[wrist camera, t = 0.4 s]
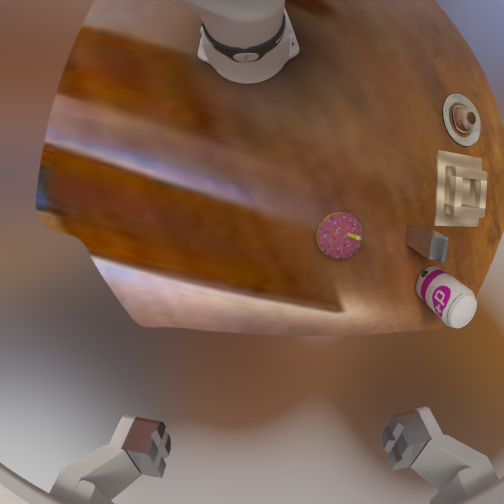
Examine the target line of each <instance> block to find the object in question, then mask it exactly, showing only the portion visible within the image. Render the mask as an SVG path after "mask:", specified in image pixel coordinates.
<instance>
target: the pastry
mask: <svg viewBox="0 0 504 504" xmlns="http://www.w3.org/2000/svg"><path fill="white" fill-rule="evenodd" d="M455 103H460V104H462V105H464V106H465V107H463V106H460V105H458V106H455V107H454V109H453V119H454V122H455V126H456V128H457V130H458V131H460V132H462V133H469V132H470V131H471V130H472V132H471V134H470V135H469V136H467V137H461V136H459V135H458V134H457V133H456V132H455V131H454V130H453V128H452V126H451V124H450V121H449V110H450V107H451V106H452V105H453V104H455ZM443 118H444V122H445V126H446V128H447V130H448V132H449V134H450V136H451V137H452V138H453V139H454V140H455V141H456V142H457V143H458V144H460V145H462V146H471V145H473V144H475V143H476V142H477V140H478V138H479V135H480V131H481V124H480V118H479V115H478V112H477V110H476V109H475V107H474V105H473V104H472V103H471V102H470V100H469V99H468V98H466V97H465V96H463V95H460V94H453V95H450V96H449V97H448V98H447V99H446V101H445V103H444V107H443Z"/></svg>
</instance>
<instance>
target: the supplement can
mask: <svg viewBox="0 0 504 504" xmlns="http://www.w3.org/2000/svg"><path fill="white" fill-rule="evenodd" d="M416 292H417V294H418V296H419V297H420V298H421V299H422V300H423V301H424V302H425V303H426V304H427V305H428V306H429V307H430V308H431V309H432V310H433V311H434V312H435V313H436V314H437V315H438V316H439V317H440V318H441V319H442V321H443V322H444V323H445V324H446V325H448V326H450V327H455V328H461V327H463V326H465V325H466V324H467V323H468V322H469V321H470V320H471V319H472V317H473V316H474V314H475V311H476V307H477V301H476V299H475V296H474V294H473V292H472V291H471V290H470V289H468V288H467V287H466V286H465V285H463V284H462V283H461V282H459V281H458V280H457V279H455V278H454V277H452V276H451V275H450V274H448V273H447V272H446V271H444V270H443V269H441V268H440V267H438V266H430V267H427V268H426V269H425V270H423V271H422V273H421V274H420V275H419V277H418V280H417V282H416Z"/></svg>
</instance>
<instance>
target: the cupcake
mask: <svg viewBox="0 0 504 504" xmlns="http://www.w3.org/2000/svg"><path fill="white" fill-rule="evenodd" d="M362 239H363V230H362V227H361V224H360V223H359V221H358V220H357V218H356V217H355V216H354V215H352V214H351V213H349V212H334V213H332V214H329V215H327V216H326V217H325V218H324V219H323V220H322V222H321V223H320V224H319V225H318V228H317V234H316V240H317V244H318V247H319V249H320V250H321V251H322V252H323V253H324V254H325V255H327V256H329V257H331V258H334V259H346V258H349V257H350V256H351V255H353V254H354V253H355V252H357V250H358V249H359V247H360V245H361V243H362Z"/></svg>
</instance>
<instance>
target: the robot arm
mask: <svg viewBox="0 0 504 504" xmlns="http://www.w3.org/2000/svg"><path fill="white" fill-rule="evenodd" d="M170 1H173V2H176V3H179V4H181V5H184V6H186V7H188V8H190V9H192V10H194V11H195V12H196V13H197V14H198V16H199V17H200V19H201V20H202V25H203V27H201V29H200V33H201V34H202V37H201V39H200V45H199V49H198V57H199V59H200V60H202V61H204V62H206V63H209V64H211V65H212V66H213V67H214V69H215V70H216V71H217V72H218V73H219V74H220V75H222V76H223V77H224V78H226V79H228V80H231V81H233V82H237V83H244V84H251V83H258V82H262V81H265V80H267V79H269V78H271V77H273V76H274V75H275V74H277V73H278V72H279V71H280V70H281V68H282V67H283V66H284V64H285V63H286V62H287V61H288V60H289V59H291V58H293V57H295V56H296V55H298V54H299V45H298V42H297V39H296V36H295V33H294V31H293V28H292V25H291V22H290V19H289V17H288V14H287V11H286V9H285V0H170ZM292 44H293V46H292ZM388 423H389V425H388V426H386V427H385V428H384V430H383V433H382V444H383V447H384V450H386V451H387V452H389V455H388V457H387V460H388V463H389V466H390V469H391V471H394V470H397V469H401V468H405V467H409V466H411V468H412V469H413V470H415V471H416V472H417V473H418V474H419V475H421V476H422V477H423V478H424V479H426V480H427V481H428V482H429V483H430V484H432V485H433V486H434V487H435V488H437V489H438V490H439V492H438V493H437V494H436V495H435V496H434V497H433V498H432V499H431V500H430V504H504V476H503V477H501V478H500V479H498V477H497V475H496V473H495V471H494V469H493V467H492V465H491V463H490V461H489V459H488V457H487V456H485V455H483V454H481V453H479V452H477V451H475V450H474V449H472V448H470V447H468V446H466V445H464V444H462V443H461V442H459V441H457V440H455V439H453V438H452V437H450V436H448V435H443V433H442V432H441V430H440V428H439V426H438V424H437V422H436V420H435V418H434V417H433V415H432V413H431V411H430V409H429V408H428V407H422V408H419V409H415V410H414V409H413V410H410V411H406V412H402V413H398V414H393V415H391V416H390V418H389V419H388ZM165 428H166V426H165V424H164V422H161V421H155V420H149V419H144V418H139V417H135V416H130V415H124V416H123V417H122V418H121V421H120V423H119V425H118V427H117V429H116V431H115V433H114V435H113V437H112V439H111V441H110V443H109V445H104V446H102V447H100V448H99V449H97V450H95V451H94V452H92V453H90V454H88V455H87V456H85V457H84V458H82V459H80V460H78V461H76V462H74V463H72V464H71V465H69V466H67V467H65V468H63V469H62V470H61V472H60V474H59V476H58V477H57V479H56V481H55V483H54V485H53V487H52V489H51V491H50V493H47V492H45V491H44V490H42V489H40V488H38V487H37V486H35V485H33V484H32V483H30V482H28V481H27V480H25V479H23V478H22V477H20V476H19V475H17V474H16V473H14V472H13V471H11V470H10V469H9V468H7V467H6V466H4V465H3V464H1V463H0V504H114V503H113V502H112V501H111V500H112V499H113V498H114V497H116V496H117V495H118V494H119V493H121V492H122V491H123V490H124V489H125V488H127V487H128V486H129V485H130V484H131V483H133V482H134V481H135V480H136V479H137V478H139V477H140V476H141V474H144V475H149V476H154V477H160V478H162V477H163V473H164V470H165V467H166V463H165V461H164V459H165V458H166V457H168V456H169V453H170V449H171V440H170V436H169V434H168V433H167V432H165Z"/></svg>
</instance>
